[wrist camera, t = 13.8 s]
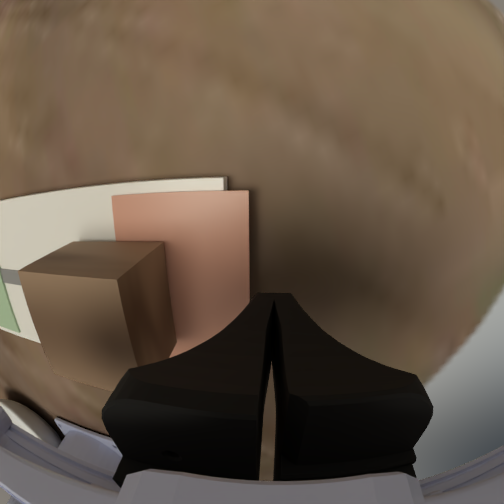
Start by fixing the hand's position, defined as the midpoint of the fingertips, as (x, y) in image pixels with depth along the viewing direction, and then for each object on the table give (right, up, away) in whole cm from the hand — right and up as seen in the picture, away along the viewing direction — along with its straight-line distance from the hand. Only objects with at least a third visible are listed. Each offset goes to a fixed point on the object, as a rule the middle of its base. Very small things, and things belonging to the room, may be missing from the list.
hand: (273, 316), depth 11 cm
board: (-14, +1, +4) cm, 14 cm away
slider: (-7, +1, +2) cm, 7 cm away
